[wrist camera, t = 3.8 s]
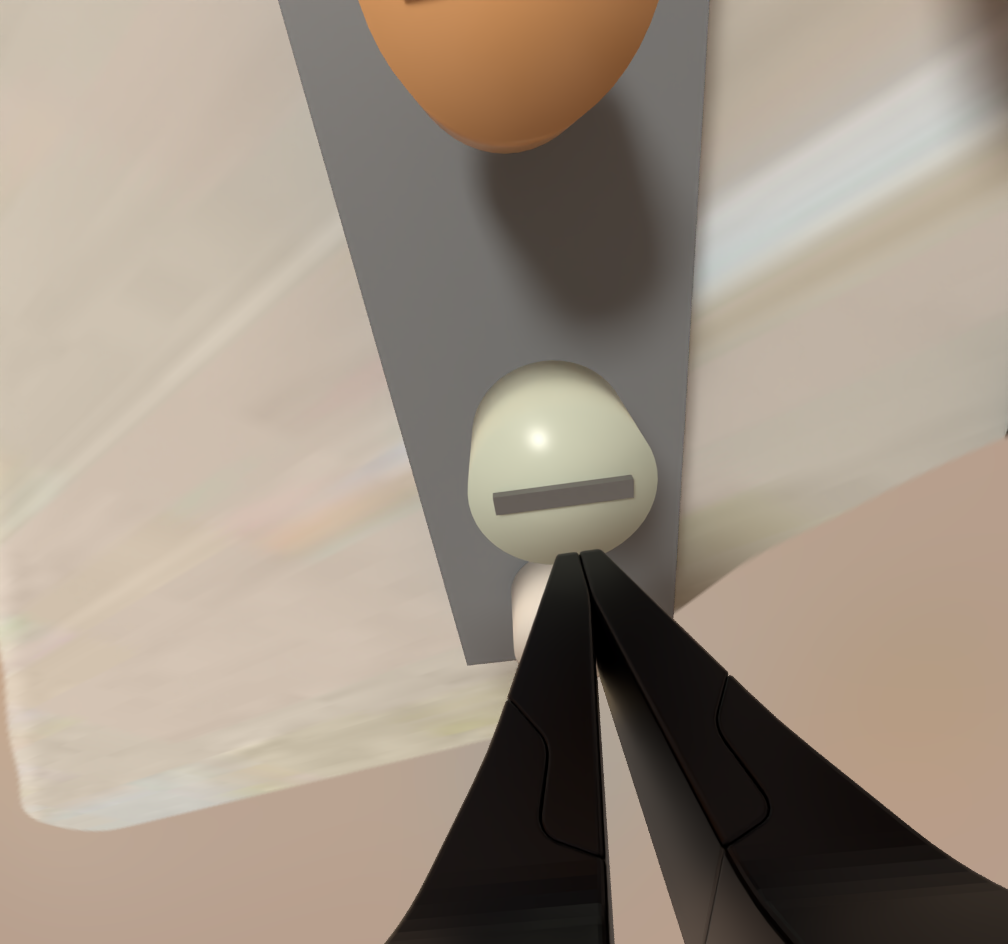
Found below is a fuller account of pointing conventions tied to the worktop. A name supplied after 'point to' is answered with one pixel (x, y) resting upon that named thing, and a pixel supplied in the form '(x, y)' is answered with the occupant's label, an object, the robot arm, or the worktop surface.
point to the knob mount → (517, 272)
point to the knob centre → (557, 464)
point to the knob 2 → (527, 601)
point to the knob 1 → (508, 61)
